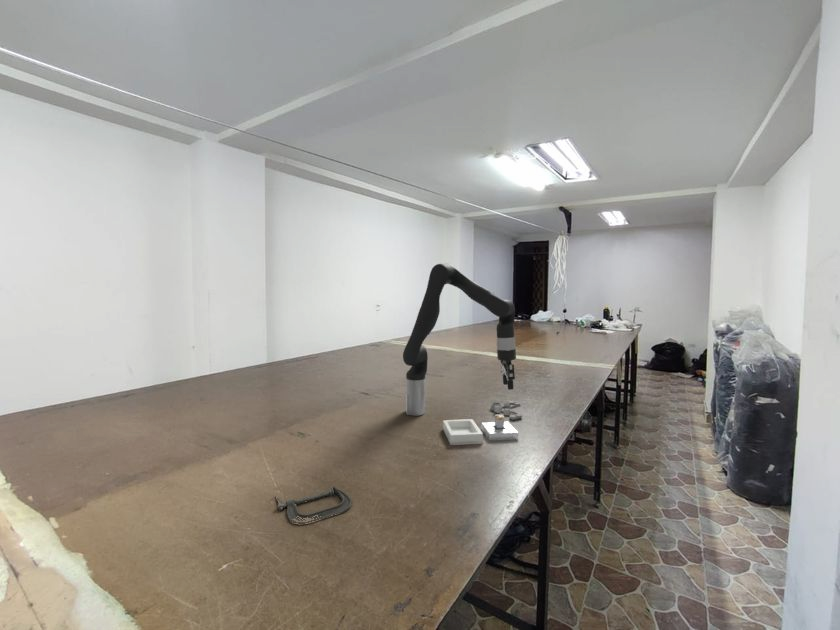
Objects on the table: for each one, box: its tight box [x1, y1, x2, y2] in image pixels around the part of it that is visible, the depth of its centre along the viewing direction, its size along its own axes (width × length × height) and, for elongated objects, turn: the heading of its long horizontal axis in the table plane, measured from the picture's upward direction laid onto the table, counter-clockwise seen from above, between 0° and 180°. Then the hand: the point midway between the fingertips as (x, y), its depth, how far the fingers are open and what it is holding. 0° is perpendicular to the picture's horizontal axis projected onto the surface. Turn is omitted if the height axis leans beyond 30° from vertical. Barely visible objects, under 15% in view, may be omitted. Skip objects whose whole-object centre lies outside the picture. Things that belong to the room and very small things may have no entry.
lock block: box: [480, 421, 519, 442], centre depth 159 cm, size 12×12×3 cm
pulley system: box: [490, 400, 523, 421], centre depth 188 cm, size 27×5×15 cm
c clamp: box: [277, 485, 353, 524], centre depth 109 cm, size 20×17×3 cm
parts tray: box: [442, 418, 484, 446], centre depth 157 cm, size 13×16×4 cm
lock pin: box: [494, 413, 505, 430], centre depth 159 cm, size 4×4×8 cm
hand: (508, 386), depth 157 cm, fingers open, 8 cm apart
